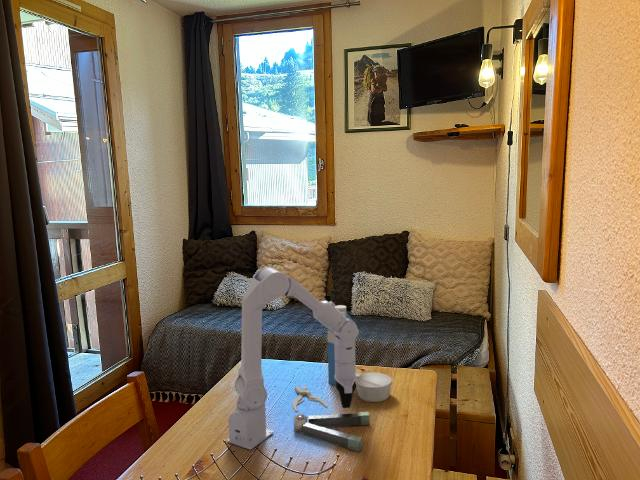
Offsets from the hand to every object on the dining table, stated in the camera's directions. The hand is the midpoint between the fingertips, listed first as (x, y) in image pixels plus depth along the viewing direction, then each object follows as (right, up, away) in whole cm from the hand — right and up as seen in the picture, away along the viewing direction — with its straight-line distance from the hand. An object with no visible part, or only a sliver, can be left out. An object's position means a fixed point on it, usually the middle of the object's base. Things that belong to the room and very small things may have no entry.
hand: (346, 407), depth 134 cm
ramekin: (+9, -1, +12) cm, 15 cm away
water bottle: (0, 0, +24) cm, 24 cm away
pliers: (-12, -2, +11) cm, 16 cm away
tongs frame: (-5, -4, -12) cm, 14 cm away
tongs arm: (-2, -3, -5) cm, 6 cm away
